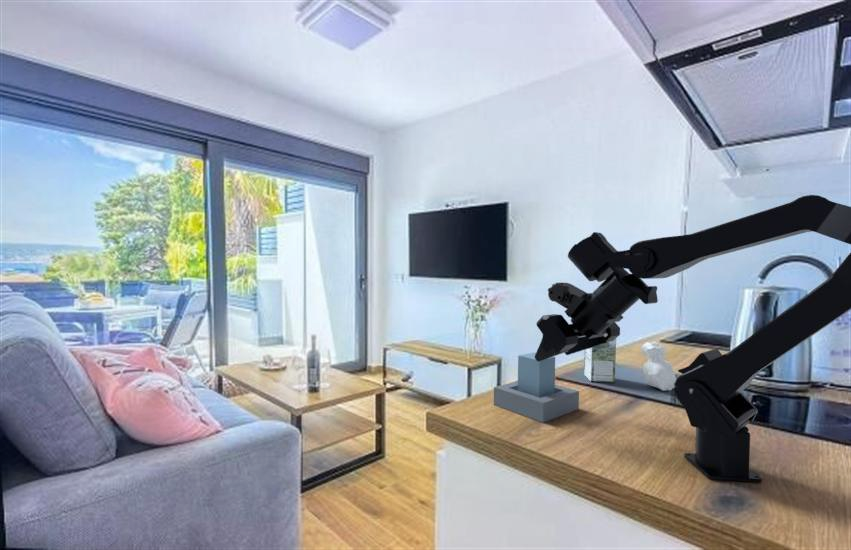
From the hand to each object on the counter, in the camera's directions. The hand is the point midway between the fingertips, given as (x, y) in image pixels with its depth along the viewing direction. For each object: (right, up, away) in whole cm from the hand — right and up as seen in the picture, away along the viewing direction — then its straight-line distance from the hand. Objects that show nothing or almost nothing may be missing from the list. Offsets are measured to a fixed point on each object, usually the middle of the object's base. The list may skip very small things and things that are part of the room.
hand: (551, 356), depth 76 cm
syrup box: (+19, -11, +23) cm, 31 cm away
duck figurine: (+30, -11, +18) cm, 37 cm away
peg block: (-2, -11, +3) cm, 11 cm away
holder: (-2, -11, +3) cm, 11 cm away
